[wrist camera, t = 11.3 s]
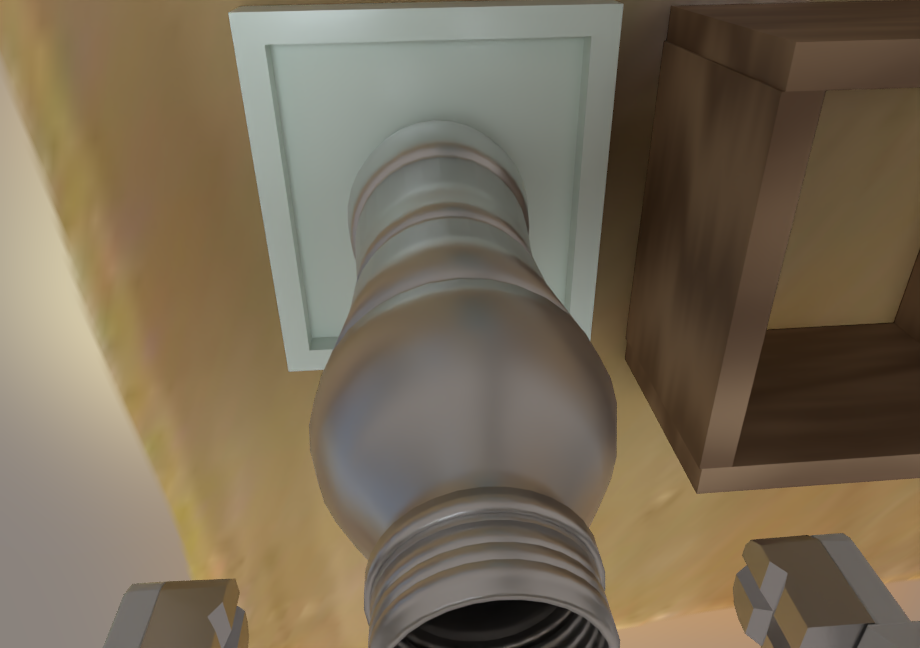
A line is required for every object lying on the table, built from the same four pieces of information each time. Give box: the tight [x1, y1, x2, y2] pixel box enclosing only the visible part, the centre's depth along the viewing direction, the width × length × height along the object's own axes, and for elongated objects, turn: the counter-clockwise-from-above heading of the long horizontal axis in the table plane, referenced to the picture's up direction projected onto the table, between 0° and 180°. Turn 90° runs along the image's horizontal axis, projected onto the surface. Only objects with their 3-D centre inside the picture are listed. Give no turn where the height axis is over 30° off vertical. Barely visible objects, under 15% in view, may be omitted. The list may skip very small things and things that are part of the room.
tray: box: [228, 0, 623, 372], centre depth 27 cm, size 14×13×2 cm
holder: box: [625, 0, 920, 494], centre depth 25 cm, size 15×14×9 cm
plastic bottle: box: [309, 120, 620, 648], centre depth 18 cm, size 6×7×20 cm
